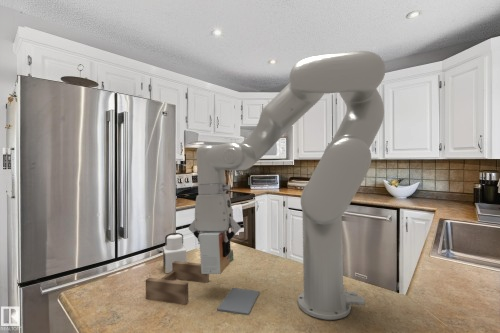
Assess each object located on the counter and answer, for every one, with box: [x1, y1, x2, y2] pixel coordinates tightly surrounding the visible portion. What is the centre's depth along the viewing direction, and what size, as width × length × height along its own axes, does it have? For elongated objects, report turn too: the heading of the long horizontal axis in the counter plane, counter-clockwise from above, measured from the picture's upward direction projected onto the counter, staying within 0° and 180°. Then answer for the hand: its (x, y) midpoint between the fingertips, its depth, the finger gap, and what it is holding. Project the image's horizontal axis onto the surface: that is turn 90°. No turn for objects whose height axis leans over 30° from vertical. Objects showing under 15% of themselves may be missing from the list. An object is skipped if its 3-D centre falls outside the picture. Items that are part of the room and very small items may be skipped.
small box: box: [199, 232, 230, 275], centre depth 69 cm, size 8×6×10 cm
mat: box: [216, 287, 261, 316], centre depth 65 cm, size 8×11×1 cm
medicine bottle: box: [162, 232, 187, 275], centre depth 87 cm, size 7×7×12 cm
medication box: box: [229, 249, 234, 264], centre depth 90 cm, size 12×3×4 cm, turn 155°
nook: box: [145, 261, 210, 305], centre depth 72 cm, size 12×14×5 cm
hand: (215, 254), depth 69 cm, fingers closed on small box, 5 cm apart
